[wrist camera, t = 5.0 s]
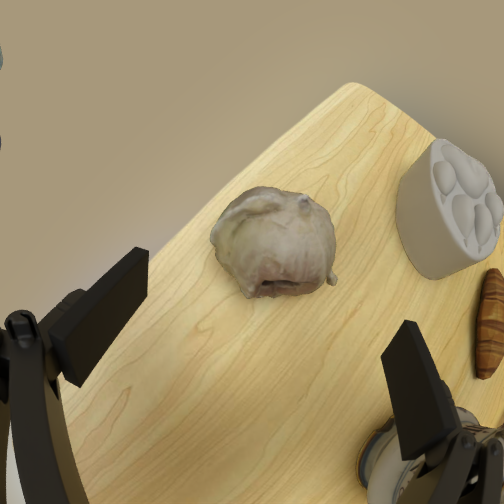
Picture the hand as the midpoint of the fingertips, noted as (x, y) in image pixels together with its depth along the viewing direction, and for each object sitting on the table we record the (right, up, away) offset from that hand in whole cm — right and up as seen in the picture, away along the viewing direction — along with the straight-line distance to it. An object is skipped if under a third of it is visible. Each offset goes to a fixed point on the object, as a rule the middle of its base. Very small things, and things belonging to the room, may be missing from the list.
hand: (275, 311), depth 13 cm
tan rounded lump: (+1, +2, +12) cm, 12 cm away
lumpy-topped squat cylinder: (+19, +6, +14) cm, 25 cm away
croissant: (+27, -6, +11) cm, 29 cm away
